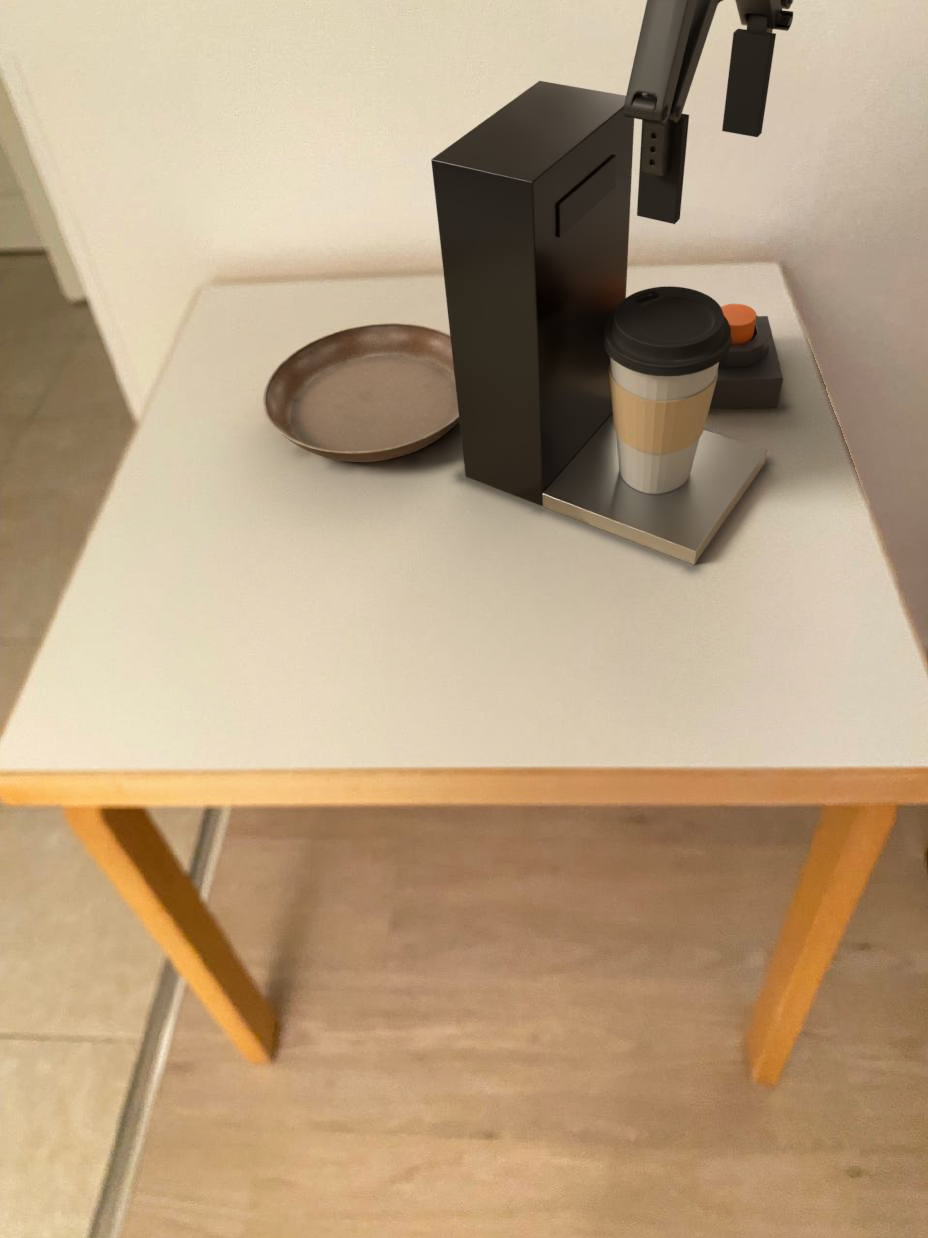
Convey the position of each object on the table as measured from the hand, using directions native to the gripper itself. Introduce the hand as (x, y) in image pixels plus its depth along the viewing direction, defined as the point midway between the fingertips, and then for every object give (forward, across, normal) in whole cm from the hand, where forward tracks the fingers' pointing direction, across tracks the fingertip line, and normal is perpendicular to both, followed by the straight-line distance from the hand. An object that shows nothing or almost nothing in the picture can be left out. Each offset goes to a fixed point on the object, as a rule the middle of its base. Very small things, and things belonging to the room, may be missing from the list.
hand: (702, 173), depth 67 cm
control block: (+25, -13, 0) cm, 28 cm away
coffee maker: (+25, +4, -4) cm, 26 cm away
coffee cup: (+24, +4, 0) cm, 24 cm away
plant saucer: (+25, +7, -28) cm, 38 cm away
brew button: (+20, -13, 0) cm, 24 cm away
